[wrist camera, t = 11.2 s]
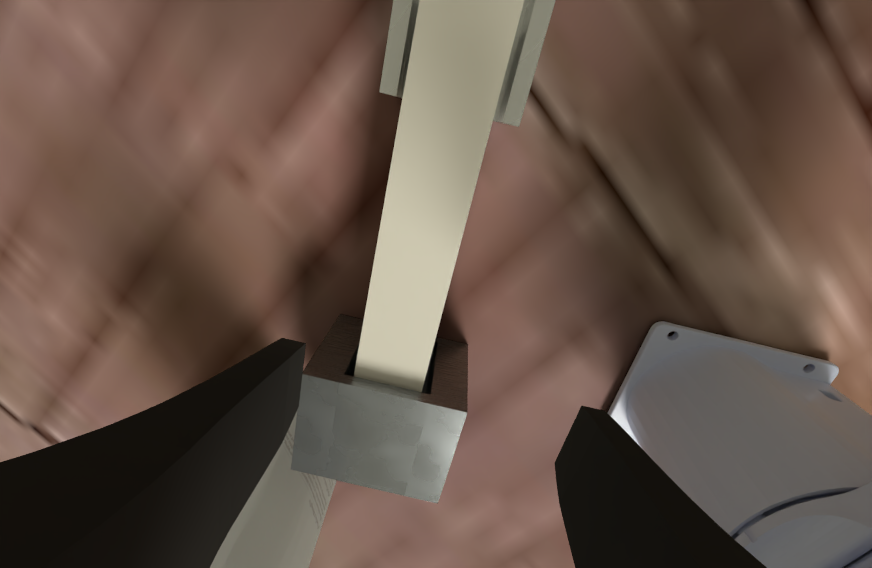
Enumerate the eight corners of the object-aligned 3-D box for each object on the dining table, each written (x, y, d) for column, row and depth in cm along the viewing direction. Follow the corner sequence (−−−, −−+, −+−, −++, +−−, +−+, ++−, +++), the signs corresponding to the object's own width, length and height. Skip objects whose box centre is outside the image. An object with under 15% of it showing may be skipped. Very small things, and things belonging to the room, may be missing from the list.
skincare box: (212, 392, 24) (-122, 752, 11) (305, 381, 23) (74, 756, 10) (261, 493, 27) (51, 872, 14) (345, 486, 26) (211, 884, 13)
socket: (467, 344, 22) (467, 412, 17) (444, 422, 24) (437, 503, 19) (340, 314, 21) (301, 373, 16) (328, 395, 24) (290, 469, 19)
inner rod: (511, 27, 15) (524, -1, 12) (423, 367, 22) (414, 419, 18) (434, 8, 15) (423, -26, 12) (369, 354, 22) (348, 403, 18)
